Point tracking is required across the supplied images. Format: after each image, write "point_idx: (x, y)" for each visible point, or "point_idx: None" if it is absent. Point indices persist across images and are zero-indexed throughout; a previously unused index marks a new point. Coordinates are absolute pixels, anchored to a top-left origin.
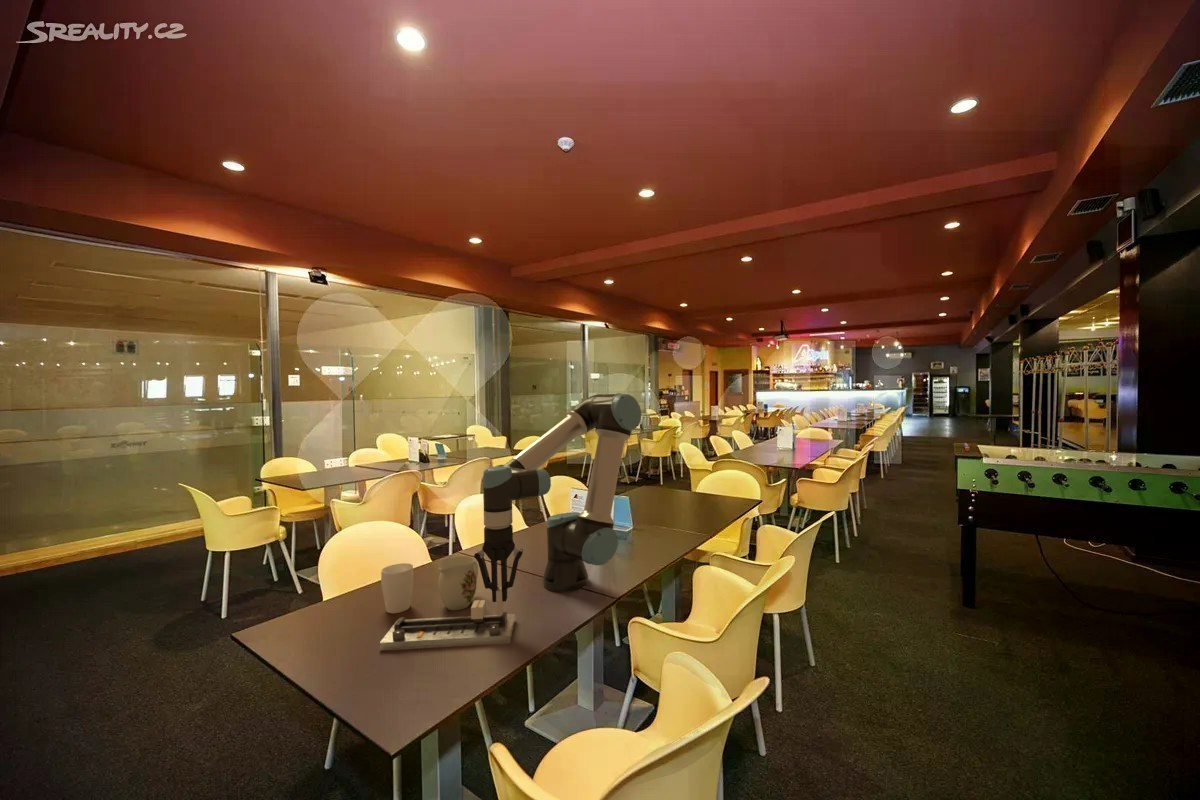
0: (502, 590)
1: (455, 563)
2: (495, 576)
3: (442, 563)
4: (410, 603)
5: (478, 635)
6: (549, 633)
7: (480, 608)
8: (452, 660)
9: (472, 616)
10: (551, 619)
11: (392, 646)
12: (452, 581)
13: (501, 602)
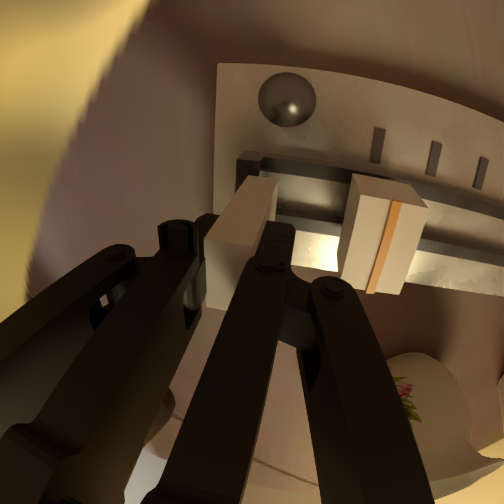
0: (192, 229)
1: None
2: (218, 350)
3: (451, 485)
4: (501, 384)
5: (365, 94)
6: (98, 126)
7: (372, 193)
8: (441, 8)
9: (407, 188)
10: (106, 219)
11: None
12: (447, 427)
13: (233, 201)
